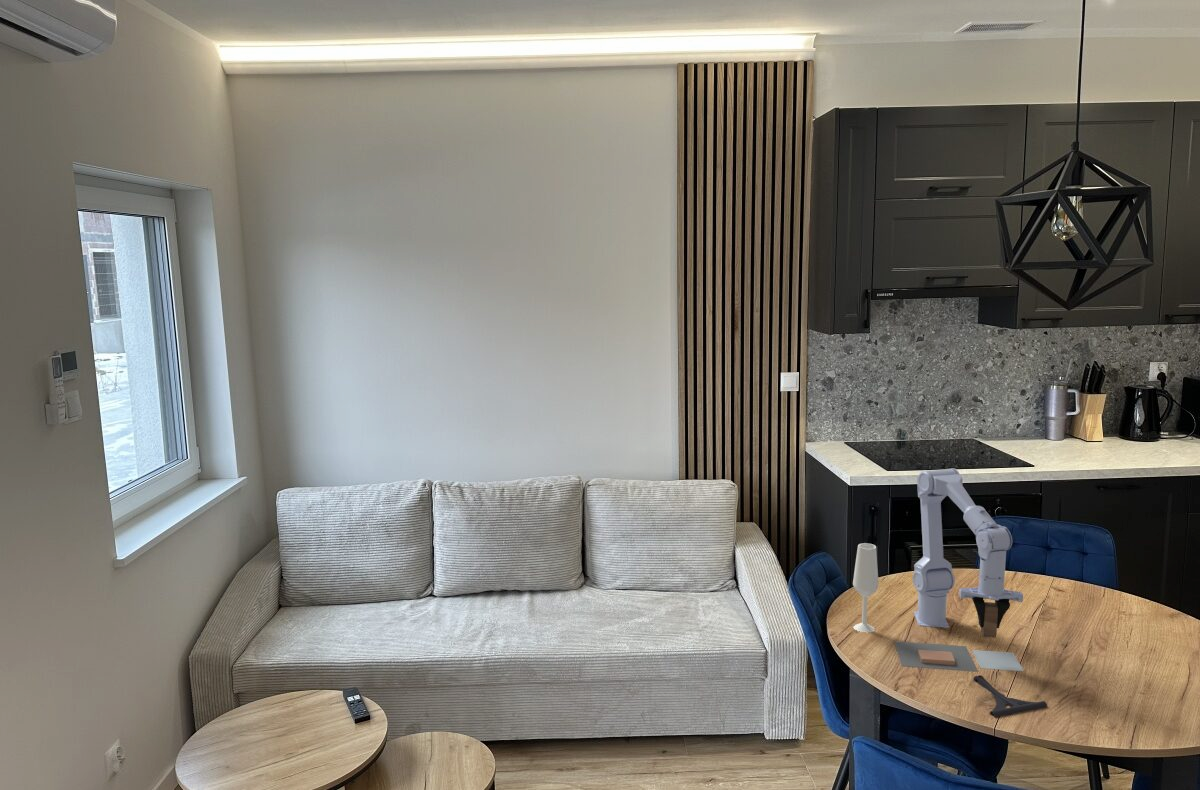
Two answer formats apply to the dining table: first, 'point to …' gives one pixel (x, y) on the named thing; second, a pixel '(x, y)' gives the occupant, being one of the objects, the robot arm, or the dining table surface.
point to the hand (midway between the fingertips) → (988, 626)
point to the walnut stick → (990, 620)
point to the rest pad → (997, 660)
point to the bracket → (1008, 701)
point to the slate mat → (910, 650)
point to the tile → (936, 657)
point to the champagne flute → (865, 579)
